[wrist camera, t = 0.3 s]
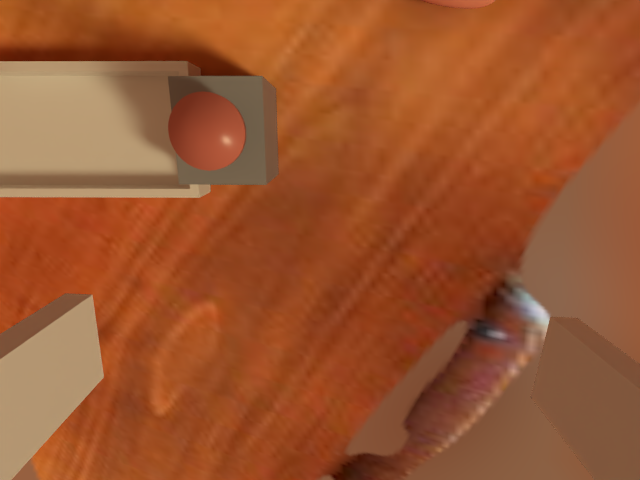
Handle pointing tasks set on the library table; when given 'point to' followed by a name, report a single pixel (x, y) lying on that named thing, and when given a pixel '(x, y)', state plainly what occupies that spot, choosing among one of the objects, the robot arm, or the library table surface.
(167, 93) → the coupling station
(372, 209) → the library table surface
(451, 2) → the teapot
